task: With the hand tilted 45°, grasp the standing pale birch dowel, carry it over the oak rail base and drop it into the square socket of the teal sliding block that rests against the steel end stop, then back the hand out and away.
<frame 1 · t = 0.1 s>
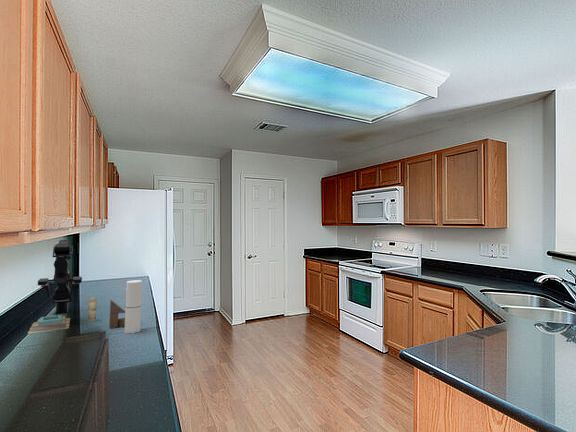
hand: (59, 297, 164), 15 cm above the counter, tool pointing down, fingers open, 9 cm apart
cylindrical container: (132, 331, 156), on the counter
birch dowel: (91, 321, 170), on the counter
rail base: (50, 326, 160), on the counter
socket block: (50, 322, 159), point 3 cm above the counter, slide at 0.0 cm
wooden block: (121, 326, 163), on the counter
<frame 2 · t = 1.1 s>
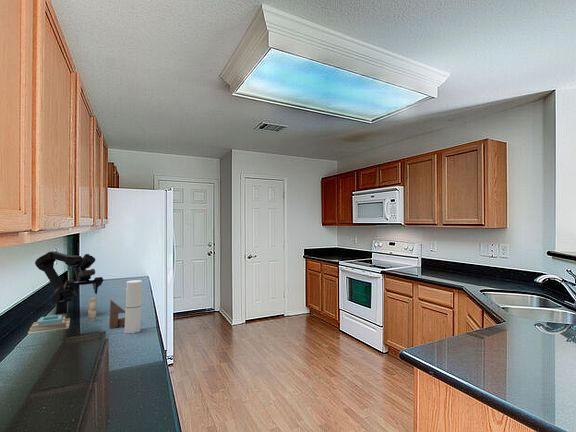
hand: (87, 295, 175), 13 cm above the counter, tool tilted 45°, fingers open, 9 cm apart
nothing on the counter moved.
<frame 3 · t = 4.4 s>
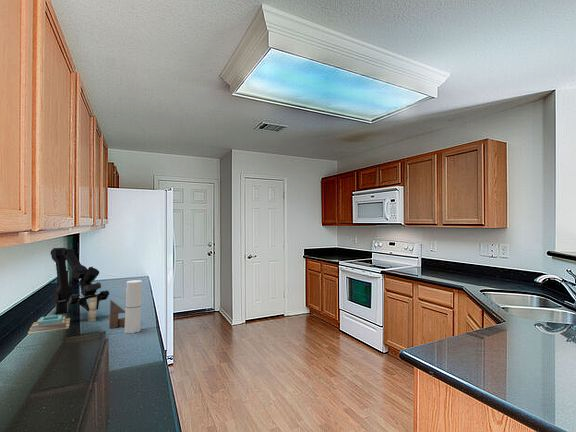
hand: (93, 310, 169), 7 cm above the counter, tool tilted 45°, fingers closed on birch dowel, 4 cm apart
birch dowel: (91, 321, 170), on the counter, touching gripper
everything else where it was.
when the fingers open (9 cm above the counter, at t = 8.7 s): birch dowel stays where it is, resting on socket block.
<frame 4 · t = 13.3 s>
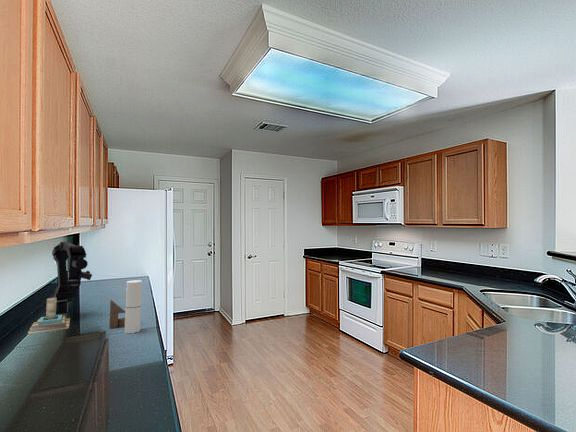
hand: (73, 295, 175), 13 cm above the counter, tool pointing down, fingers open, 9 cm apart
birch dowel: (50, 324, 159), point 2 cm above the counter, touching socket block
socket block: (50, 322, 159), point 3 cm above the counter, slide at 0.0 cm, touching birch dowel
everything else where it was.
at the end: birch dowel 0.0 cm off-centre on the socket block, point 1.0 cm above the socket block's base; birch dowel tilted 0°; socket block slide at 0.0 cm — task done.
